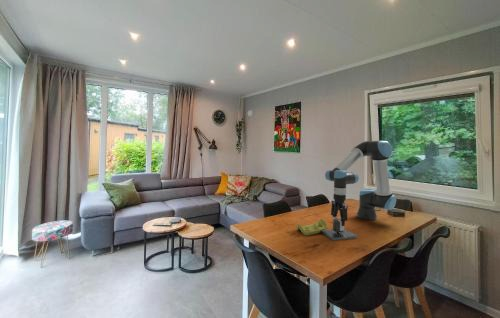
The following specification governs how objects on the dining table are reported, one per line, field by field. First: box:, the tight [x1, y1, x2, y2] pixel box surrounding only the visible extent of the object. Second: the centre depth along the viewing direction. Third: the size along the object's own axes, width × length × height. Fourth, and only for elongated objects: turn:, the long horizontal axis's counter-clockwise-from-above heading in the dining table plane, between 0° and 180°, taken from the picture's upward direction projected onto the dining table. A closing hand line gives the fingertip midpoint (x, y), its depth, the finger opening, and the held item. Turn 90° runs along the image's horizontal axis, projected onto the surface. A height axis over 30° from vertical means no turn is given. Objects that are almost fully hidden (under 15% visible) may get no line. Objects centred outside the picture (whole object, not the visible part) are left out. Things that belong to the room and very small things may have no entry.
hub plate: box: [319, 228, 358, 242], centre depth 149 cm, size 18×15×6 cm
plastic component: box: [296, 218, 328, 236], centre depth 156 cm, size 20×7×10 cm
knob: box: [332, 218, 344, 233], centre depth 150 cm, size 7×7×7 cm
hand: (338, 228), depth 150 cm, fingers closed on knob, 7 cm apart
